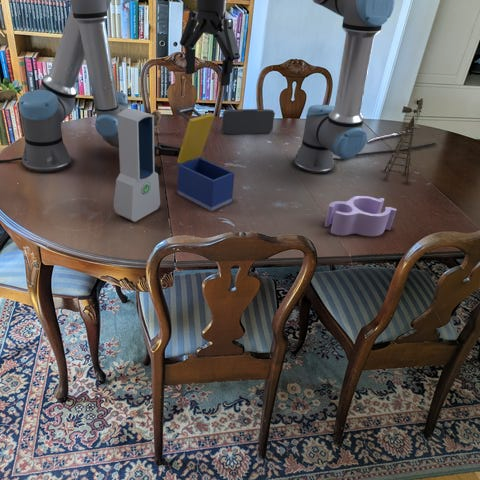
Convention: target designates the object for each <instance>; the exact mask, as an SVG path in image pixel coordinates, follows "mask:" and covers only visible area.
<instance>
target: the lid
mask: <svg viewBox="0 0 480 480" xmlns="http://www.w3.org/2000/svg"><path fill="white" fill-rule="evenodd" d="M175 113H176V115H177V116H181V117H182V118H183V119H185V121H187V127H186V129H185V133H184V136H183V140H182V143H181V146H180V147H181V150H180V153H179V156H178V158H177V160H176V162H177V164H178V165H179V164H182V163H184V162H186V161H189V160H193V159H196V158H199V157H200V158H201V157H202V155H203V152H204V148H205V146H206V143H207V139H208V137H209V134H210V132H211V128H212V125H213V122H214V120H215V114H214V113H207V114H203V115H202V114H200V112H199V111H197V110H196V109H195V106H194V105H190V106H189V105H188V106H185V107H181V108H176V112H175ZM187 113H188V114H189V113H193V114H195V116H197V117H192V118H190V117H188V116H187V115H186V114H187Z"/></svg>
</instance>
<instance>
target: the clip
mask: <svg viewBox="0 0 480 480" xmlns="http://www.w3.org/2000/svg"><path fill="white" fill-rule="evenodd" d="M384 201H385V198H383V197H379V198H376V197H373V196H368V195H357V196H352V197H350V198H349V200H347V201H339V200H338V201H337V200H335V201H332V202H330V203H329V205H328V208H327V214H326V218H325V222H324V227H326V228H329V227H330V226H331V227H330V233H331V234H333V235H336V236H348V235H353V234H356V235H360V236H364V237H365V236H366V237H378V236H381V235H382V234H384V232H385V230H387V231H391V229H392V226H393V222H394V219H395V216H396V213H397V210H398V209H397V208H395V207H391V206H385V207H384V211H383V212H382V209H383V206H384Z"/></svg>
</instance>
